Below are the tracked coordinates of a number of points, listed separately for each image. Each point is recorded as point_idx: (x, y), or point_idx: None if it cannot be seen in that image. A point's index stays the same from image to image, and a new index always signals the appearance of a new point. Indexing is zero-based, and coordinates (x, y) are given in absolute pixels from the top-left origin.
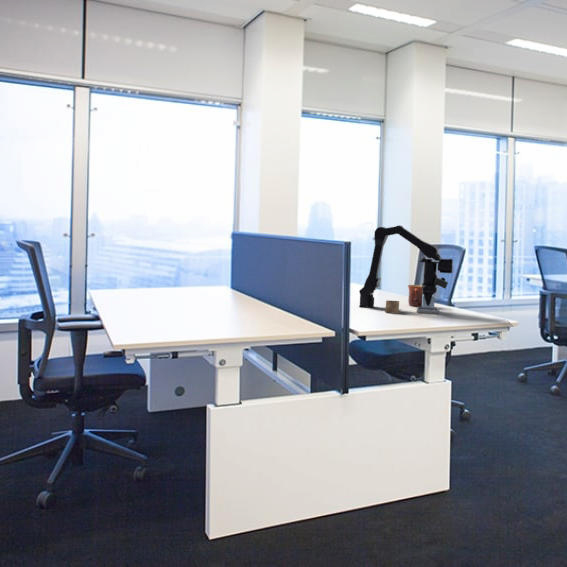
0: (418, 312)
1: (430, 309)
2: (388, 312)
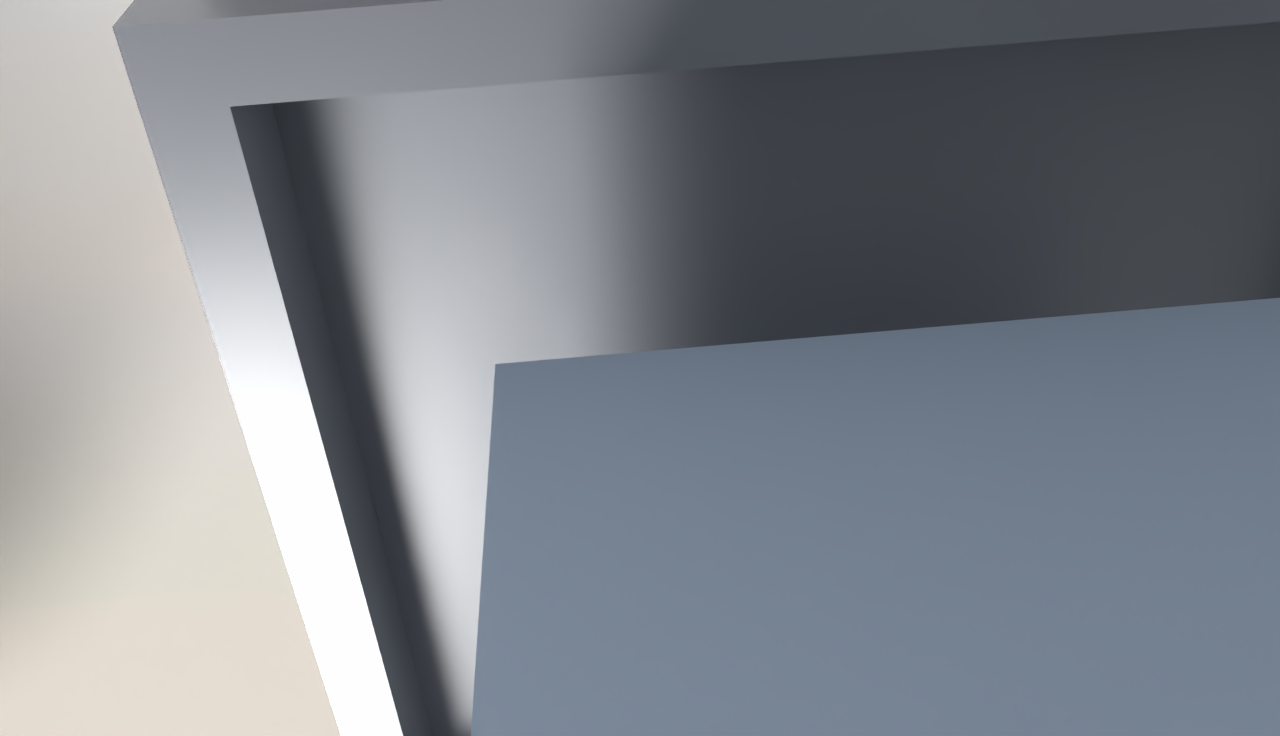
0: None
1: (337, 383)
2: None
